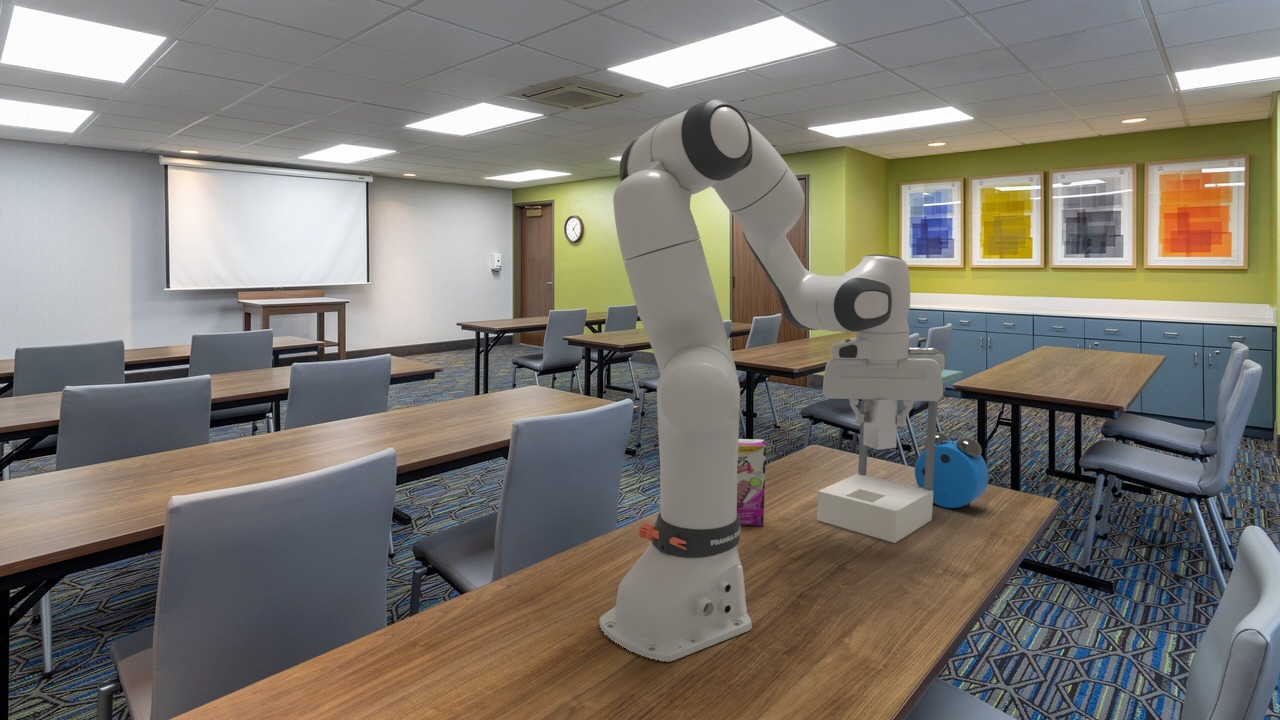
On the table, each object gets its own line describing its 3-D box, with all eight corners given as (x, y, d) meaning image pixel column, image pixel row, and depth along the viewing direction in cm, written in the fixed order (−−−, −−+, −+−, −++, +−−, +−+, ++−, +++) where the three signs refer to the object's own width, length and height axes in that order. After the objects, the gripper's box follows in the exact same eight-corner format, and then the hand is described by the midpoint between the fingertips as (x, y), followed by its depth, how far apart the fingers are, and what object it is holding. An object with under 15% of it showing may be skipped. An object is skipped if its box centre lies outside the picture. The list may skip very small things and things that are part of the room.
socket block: (905, 546, 122) (913, 385, 118) (808, 517, 137) (812, 373, 133) (954, 514, 138) (962, 371, 134) (861, 491, 152) (867, 361, 148)
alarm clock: (987, 509, 140) (992, 438, 138) (974, 517, 136) (979, 443, 134) (925, 493, 150) (929, 427, 148) (911, 500, 146) (915, 432, 144)
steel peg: (877, 449, 121) (879, 400, 120) (863, 444, 125) (864, 396, 124) (896, 447, 122) (897, 398, 121) (881, 442, 126) (882, 394, 125)
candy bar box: (706, 525, 133) (707, 443, 130) (706, 516, 138) (707, 437, 135) (764, 527, 132) (766, 444, 129) (762, 518, 137) (764, 438, 134)
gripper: (942, 345, 121) (939, 421, 123) (823, 344, 127) (822, 417, 129) (948, 350, 115) (945, 430, 117) (823, 348, 121) (822, 425, 122)
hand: (880, 423), depth 123 cm, fingers closed on steel peg, 6 cm apart
